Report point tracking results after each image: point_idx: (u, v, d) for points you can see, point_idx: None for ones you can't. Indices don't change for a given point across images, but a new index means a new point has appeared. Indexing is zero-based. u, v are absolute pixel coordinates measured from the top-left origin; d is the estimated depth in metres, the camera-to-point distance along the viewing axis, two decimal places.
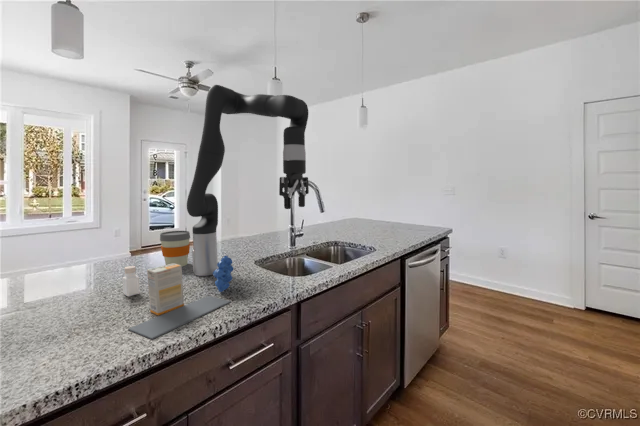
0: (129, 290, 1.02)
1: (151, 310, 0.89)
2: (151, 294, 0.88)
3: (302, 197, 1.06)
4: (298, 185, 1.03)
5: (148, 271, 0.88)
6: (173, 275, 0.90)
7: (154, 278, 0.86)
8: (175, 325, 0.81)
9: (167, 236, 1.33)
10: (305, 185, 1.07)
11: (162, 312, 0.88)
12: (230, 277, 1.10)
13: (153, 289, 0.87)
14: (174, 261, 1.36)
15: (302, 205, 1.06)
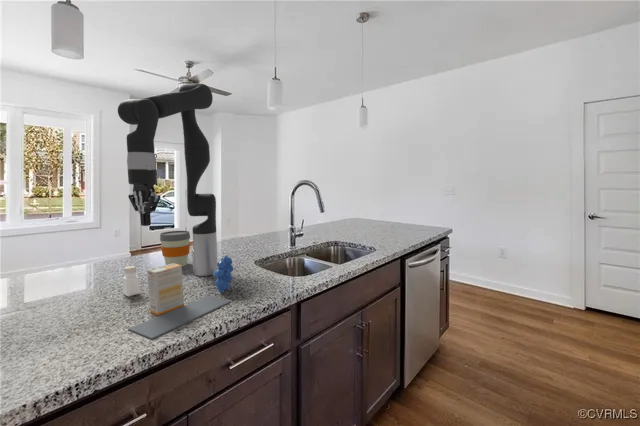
0: (129, 290, 1.02)
1: (151, 310, 0.89)
2: (151, 294, 0.88)
3: None
4: None
5: (148, 271, 0.88)
6: (173, 275, 0.90)
7: (154, 278, 0.86)
8: (175, 325, 0.81)
9: (167, 236, 1.33)
10: None
11: (162, 312, 0.88)
12: (230, 277, 1.10)
13: (153, 289, 0.87)
14: (174, 261, 1.36)
15: None
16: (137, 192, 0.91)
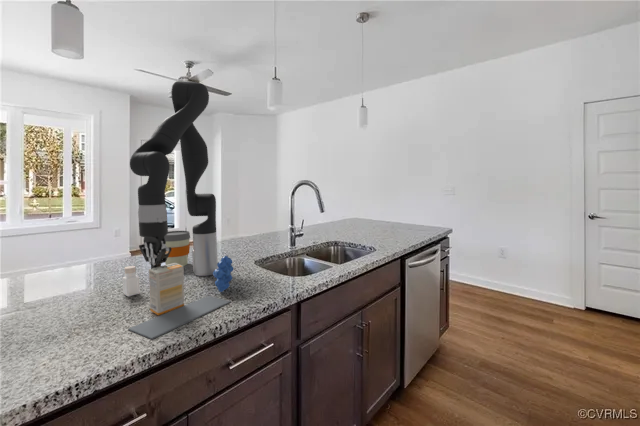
0: (129, 290, 1.02)
1: (151, 309, 0.89)
2: (152, 293, 0.88)
3: None
4: None
5: (150, 271, 0.87)
6: (175, 275, 0.90)
7: (156, 278, 0.86)
8: (175, 325, 0.81)
9: (167, 236, 1.33)
10: None
11: (162, 312, 0.88)
12: (230, 277, 1.10)
13: (154, 289, 0.87)
14: (174, 261, 1.36)
15: None
16: (148, 244, 0.91)
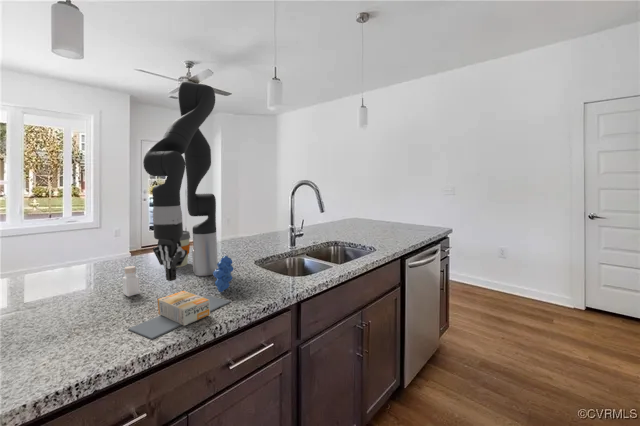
0: (129, 290, 1.02)
1: (158, 302, 0.87)
2: (168, 309, 0.84)
3: None
4: None
5: (183, 312, 0.80)
6: None
7: (180, 323, 0.81)
8: (175, 325, 0.81)
9: None
10: None
11: None
12: (230, 277, 1.10)
13: (172, 315, 0.83)
14: None
15: None
16: (163, 246, 0.87)
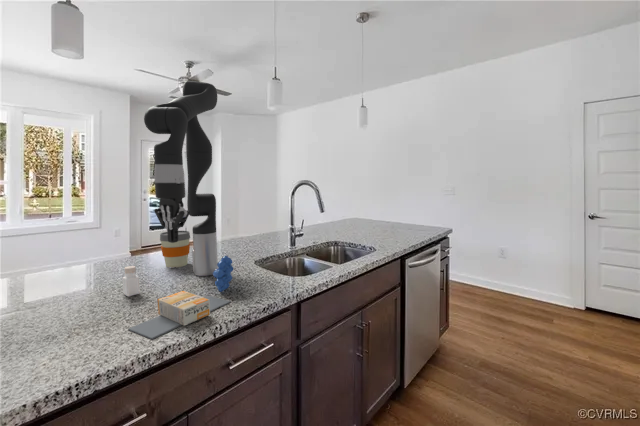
0: (129, 290, 1.02)
1: (158, 302, 0.87)
2: (168, 309, 0.84)
3: None
4: None
5: (183, 312, 0.80)
6: None
7: (180, 323, 0.81)
8: (175, 325, 0.81)
9: (167, 236, 1.33)
10: None
11: None
12: (230, 277, 1.10)
13: (172, 315, 0.83)
14: (174, 261, 1.36)
15: None
16: (164, 207, 0.85)
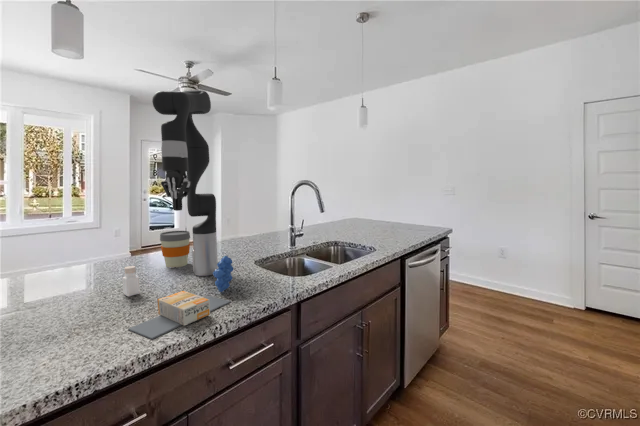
0: (129, 290, 1.02)
1: (158, 302, 0.87)
2: (168, 309, 0.84)
3: None
4: None
5: (183, 312, 0.80)
6: None
7: (180, 323, 0.81)
8: (175, 325, 0.81)
9: (167, 236, 1.33)
10: None
11: None
12: (230, 277, 1.10)
13: (172, 315, 0.83)
14: (174, 261, 1.36)
15: None
16: (170, 178, 0.97)
